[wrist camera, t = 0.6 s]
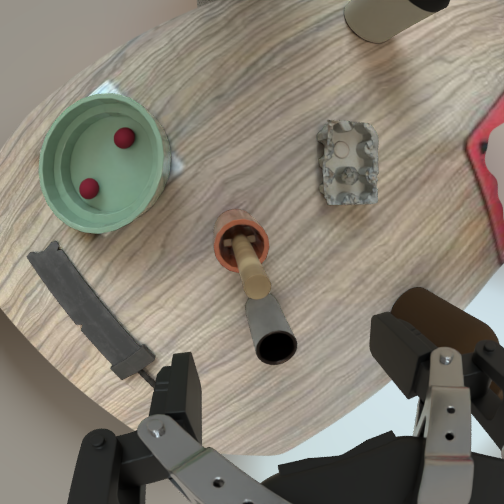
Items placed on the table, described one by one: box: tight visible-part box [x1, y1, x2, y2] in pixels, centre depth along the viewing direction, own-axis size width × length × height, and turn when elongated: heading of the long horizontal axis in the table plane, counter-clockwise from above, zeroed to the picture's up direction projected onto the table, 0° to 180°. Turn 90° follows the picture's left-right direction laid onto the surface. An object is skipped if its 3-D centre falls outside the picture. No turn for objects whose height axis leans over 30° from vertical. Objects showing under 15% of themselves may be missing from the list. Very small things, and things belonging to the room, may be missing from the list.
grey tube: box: [245, 294, 297, 365], centre depth 35 cm, size 4×4×10 cm
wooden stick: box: [222, 225, 271, 300], centre depth 28 cm, size 2×3×18 cm, turn 97°
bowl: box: [39, 93, 171, 234], centre depth 30 cm, size 15×15×6 cm
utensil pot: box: [213, 209, 269, 273], centre depth 33 cm, size 5×5×8 cm
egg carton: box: [317, 120, 379, 205], centre depth 34 cm, size 11×8×4 cm
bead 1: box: [79, 178, 99, 199], centre depth 31 cm, size 3×3×3 cm
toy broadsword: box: [27, 241, 155, 388], centre depth 38 cm, size 7×35×2 cm, turn 33°
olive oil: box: [391, 287, 503, 400], centre depth 33 cm, size 11×11×25 cm
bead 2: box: [114, 127, 135, 149], centre depth 30 cm, size 3×3×3 cm
